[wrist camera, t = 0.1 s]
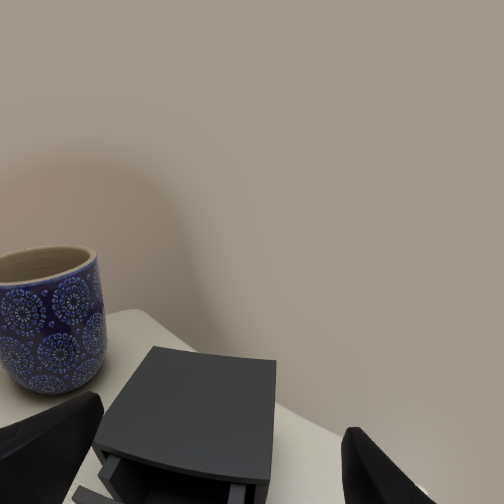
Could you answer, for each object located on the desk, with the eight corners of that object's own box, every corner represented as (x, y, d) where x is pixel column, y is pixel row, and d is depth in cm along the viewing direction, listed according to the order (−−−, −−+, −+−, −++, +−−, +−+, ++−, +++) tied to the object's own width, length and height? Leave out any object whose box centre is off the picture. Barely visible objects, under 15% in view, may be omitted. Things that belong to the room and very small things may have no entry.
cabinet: (259, 531, 13) (270, 479, 11) (126, 504, 14) (87, 438, 12) (268, 433, 24) (276, 360, 22) (166, 418, 25) (153, 345, 23)
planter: (86, 328, 40) (72, 238, 37) (139, 378, 31) (122, 261, 27) (0, 356, 27) (-27, 258, 24) (24, 428, 18) (-30, 298, 14)
